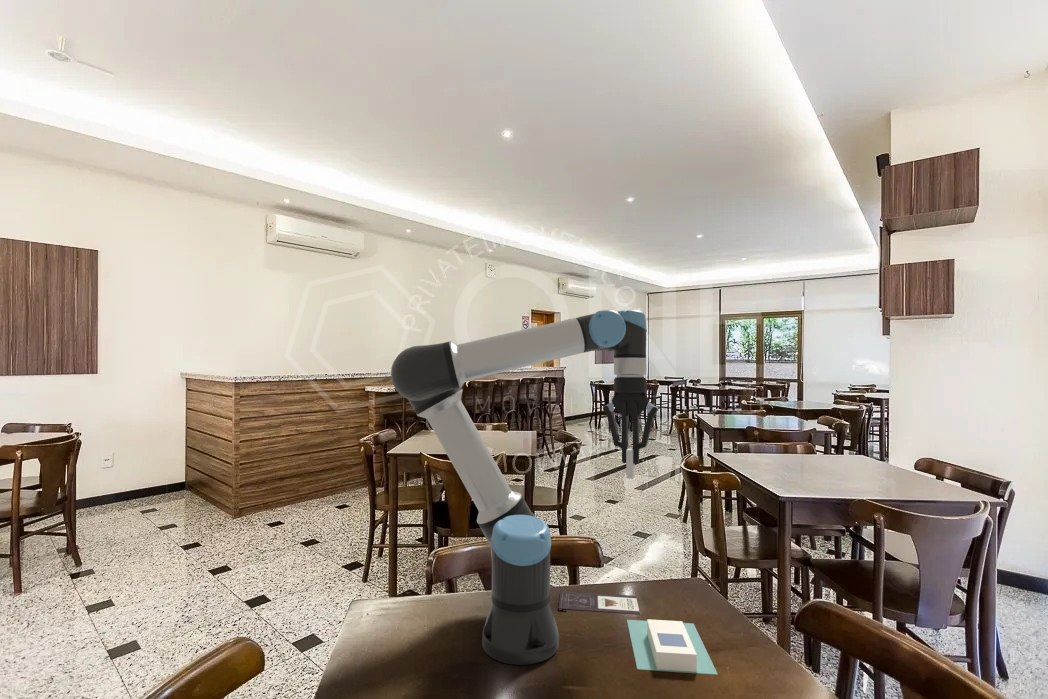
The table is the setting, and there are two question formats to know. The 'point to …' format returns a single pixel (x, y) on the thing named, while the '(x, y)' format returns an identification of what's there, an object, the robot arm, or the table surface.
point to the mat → (645, 653)
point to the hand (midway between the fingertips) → (630, 477)
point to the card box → (671, 645)
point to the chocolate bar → (598, 602)
